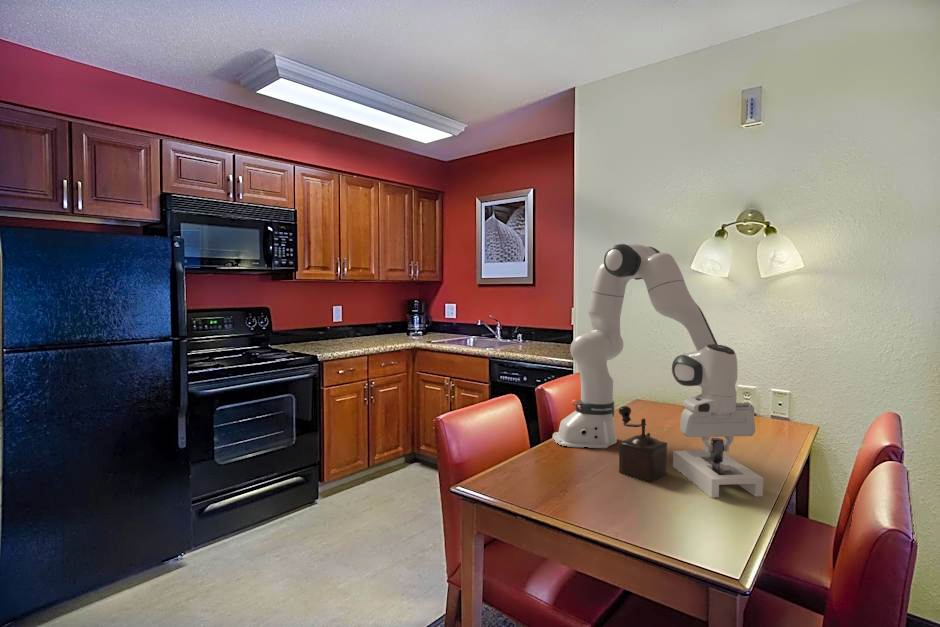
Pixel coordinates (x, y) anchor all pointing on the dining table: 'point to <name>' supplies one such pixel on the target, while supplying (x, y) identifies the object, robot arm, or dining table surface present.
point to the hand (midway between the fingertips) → (716, 451)
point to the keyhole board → (707, 480)
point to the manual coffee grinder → (641, 453)
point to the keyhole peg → (717, 454)
